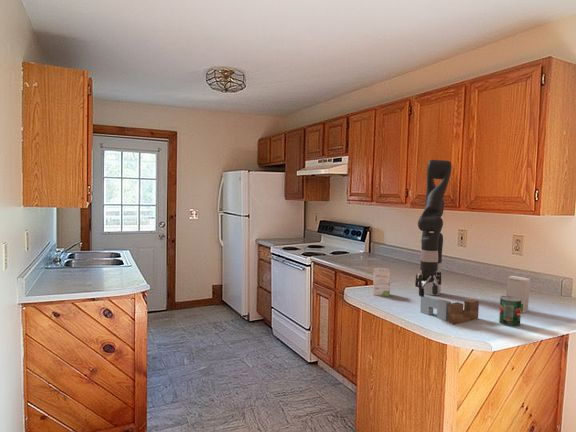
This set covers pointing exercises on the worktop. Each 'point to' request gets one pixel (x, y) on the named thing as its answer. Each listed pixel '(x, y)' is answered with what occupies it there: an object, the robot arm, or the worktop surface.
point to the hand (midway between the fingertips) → (428, 295)
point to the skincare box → (519, 290)
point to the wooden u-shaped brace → (463, 311)
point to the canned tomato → (510, 311)
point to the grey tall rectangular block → (435, 306)
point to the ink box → (381, 282)
